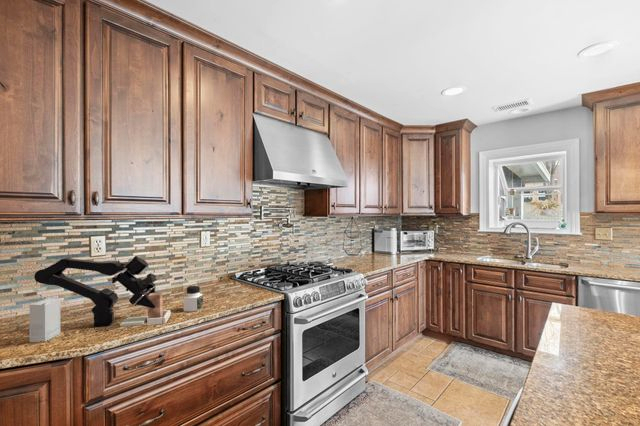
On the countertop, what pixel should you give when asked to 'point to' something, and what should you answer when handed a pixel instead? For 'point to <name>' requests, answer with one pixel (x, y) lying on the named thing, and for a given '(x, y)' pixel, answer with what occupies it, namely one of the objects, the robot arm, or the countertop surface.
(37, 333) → the skincare box
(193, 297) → the medicine bottle
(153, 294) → the pink rectangular block
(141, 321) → the lid board
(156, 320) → the toolbox compartment
